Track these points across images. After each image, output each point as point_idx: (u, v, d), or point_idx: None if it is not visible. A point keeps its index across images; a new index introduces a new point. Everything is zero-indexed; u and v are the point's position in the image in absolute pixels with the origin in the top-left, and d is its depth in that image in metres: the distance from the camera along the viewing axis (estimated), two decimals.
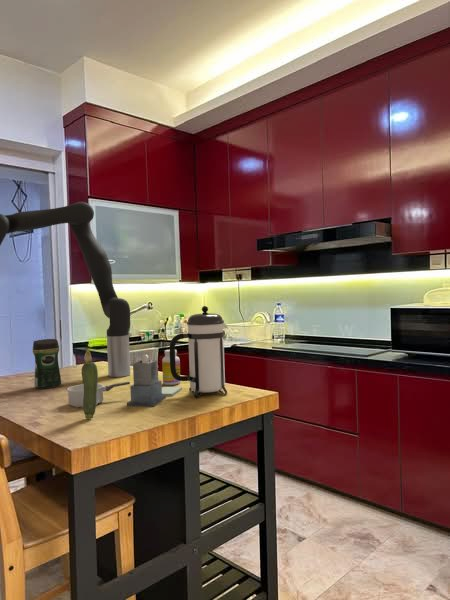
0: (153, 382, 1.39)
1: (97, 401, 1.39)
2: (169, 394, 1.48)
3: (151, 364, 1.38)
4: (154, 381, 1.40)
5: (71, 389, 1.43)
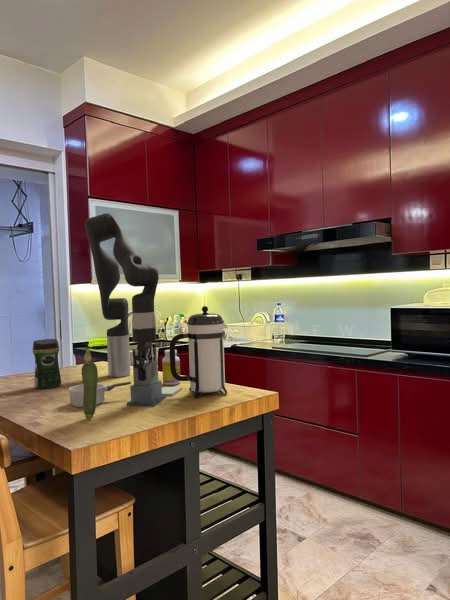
0: (153, 382, 1.39)
1: (98, 401, 1.39)
2: (169, 394, 1.48)
3: (151, 364, 1.38)
4: (154, 381, 1.40)
5: (72, 389, 1.43)
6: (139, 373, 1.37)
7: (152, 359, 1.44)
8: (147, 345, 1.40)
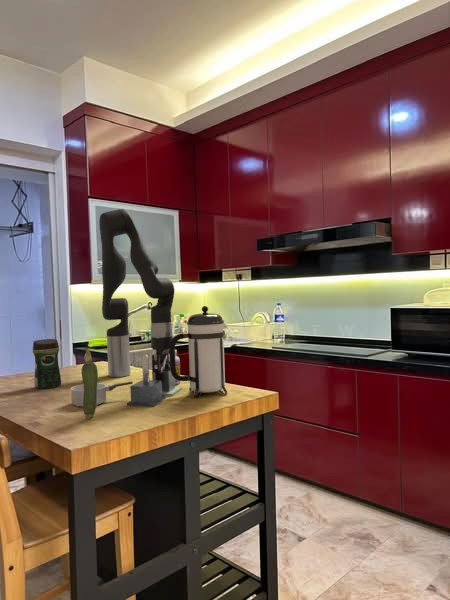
0: (170, 389, 1.52)
1: (100, 401, 1.39)
2: (169, 394, 1.48)
3: (169, 372, 1.51)
4: (171, 388, 1.52)
5: (74, 389, 1.43)
6: (157, 377, 1.49)
7: (169, 363, 1.57)
8: (165, 352, 1.53)
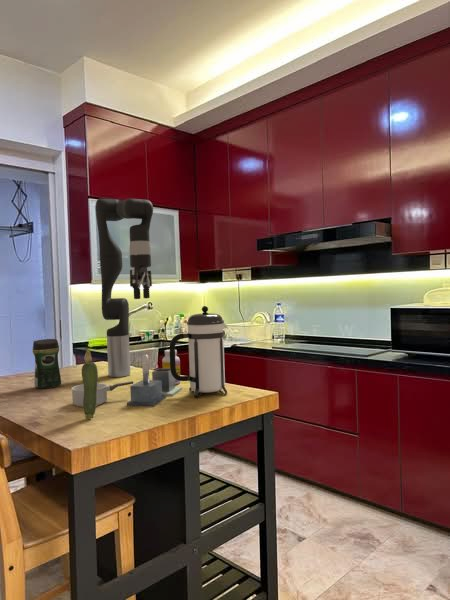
0: (170, 389, 1.52)
1: (101, 400, 1.39)
2: (169, 394, 1.48)
3: (169, 372, 1.51)
4: (171, 388, 1.52)
5: (75, 389, 1.43)
6: (134, 292, 1.55)
7: (148, 283, 1.63)
8: (143, 270, 1.59)
